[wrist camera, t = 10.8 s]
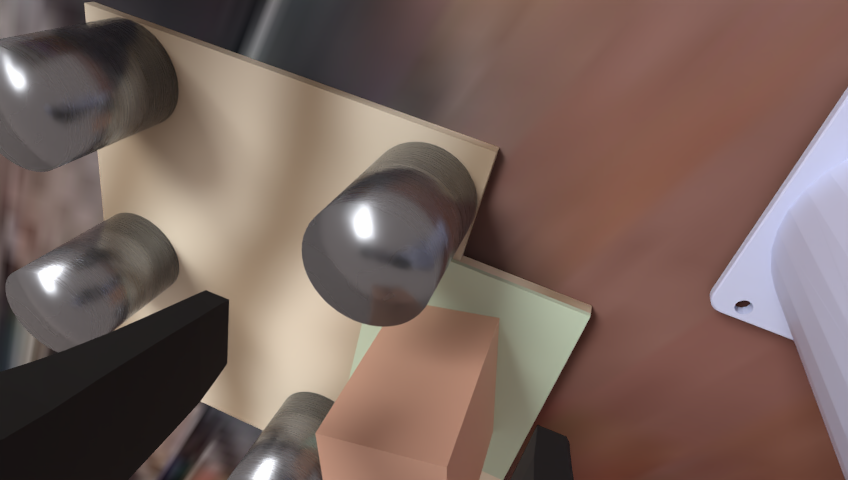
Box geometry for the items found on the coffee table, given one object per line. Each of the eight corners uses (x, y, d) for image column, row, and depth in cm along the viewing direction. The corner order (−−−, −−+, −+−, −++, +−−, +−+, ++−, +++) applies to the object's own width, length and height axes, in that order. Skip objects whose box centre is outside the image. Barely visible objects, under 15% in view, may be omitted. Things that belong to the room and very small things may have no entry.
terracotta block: (499, 317, 21) (446, 467, 15) (492, 431, 24) (446, 593, 18) (399, 299, 22) (315, 433, 17) (404, 410, 25) (334, 556, 20)
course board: (647, 199, 18) (649, 295, 14) (478, 518, 29) (447, 635, 24) (97, 0, 21) (-55, 24, 17) (124, 355, 32) (36, 430, 27)
